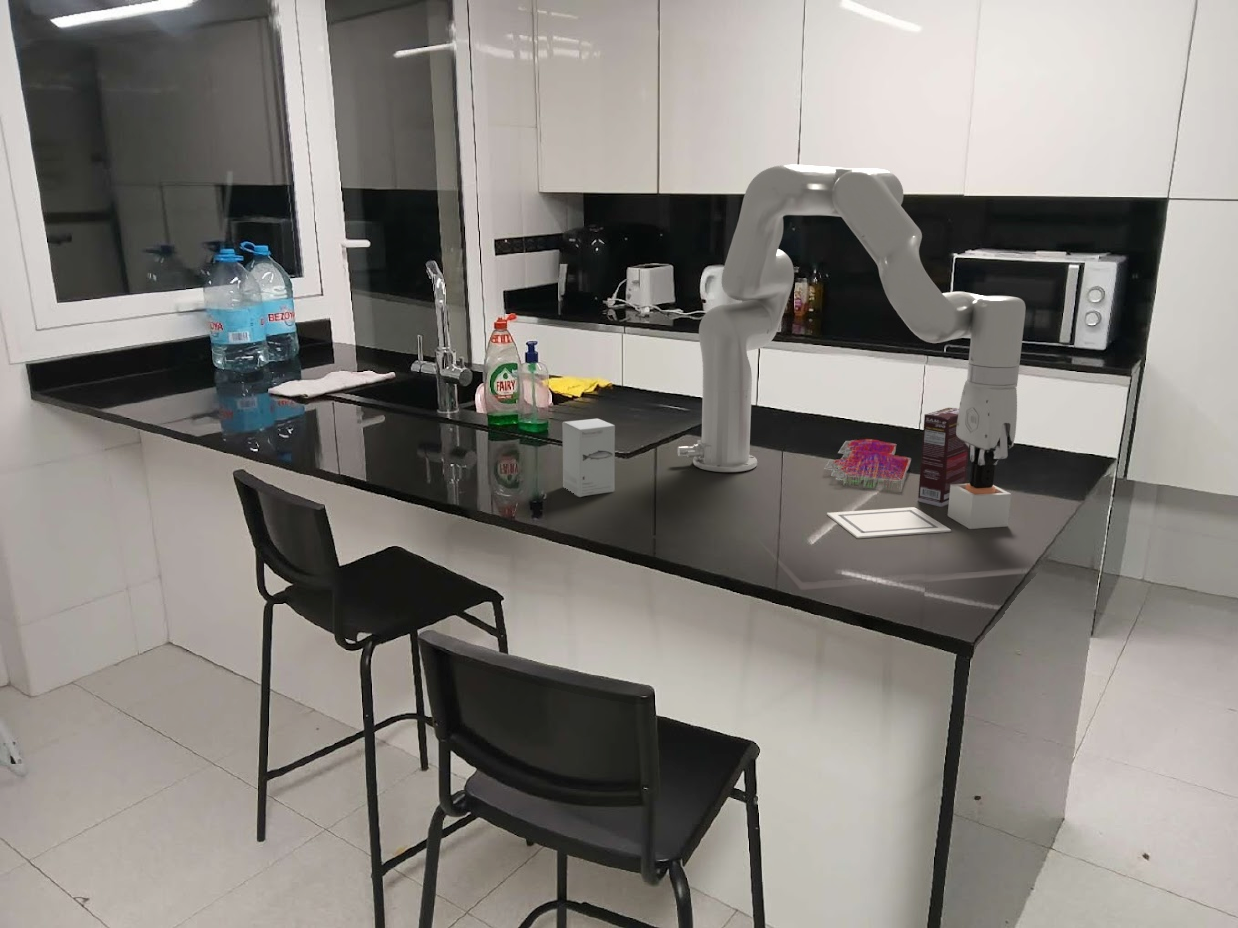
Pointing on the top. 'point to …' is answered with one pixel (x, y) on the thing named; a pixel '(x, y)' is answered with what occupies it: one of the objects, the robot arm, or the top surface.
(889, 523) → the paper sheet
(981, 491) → the button
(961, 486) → the button housing
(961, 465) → the supplement box
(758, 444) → the top surface
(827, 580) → the top surface
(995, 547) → the top surface
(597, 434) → the supplement box
